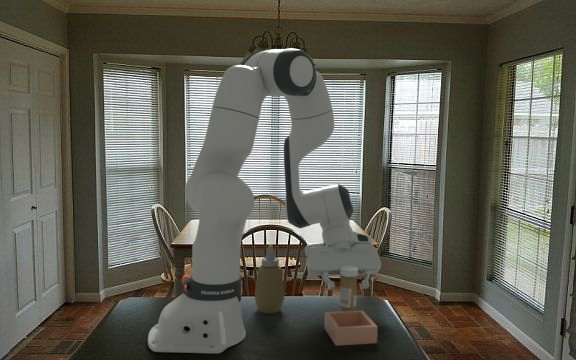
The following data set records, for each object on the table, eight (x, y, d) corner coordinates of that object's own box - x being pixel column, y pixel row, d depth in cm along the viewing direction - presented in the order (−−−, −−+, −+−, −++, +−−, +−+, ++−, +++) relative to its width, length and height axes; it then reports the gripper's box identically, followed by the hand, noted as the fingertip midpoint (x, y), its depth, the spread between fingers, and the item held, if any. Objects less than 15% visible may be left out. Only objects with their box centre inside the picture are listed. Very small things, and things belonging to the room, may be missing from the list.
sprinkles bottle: (359, 317, 124) (361, 268, 122) (346, 321, 121) (348, 271, 120) (348, 312, 127) (350, 264, 126) (335, 315, 125) (336, 266, 124)
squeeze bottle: (248, 309, 128) (249, 244, 126) (271, 302, 133) (272, 240, 131) (266, 318, 122) (268, 251, 120) (289, 311, 127) (291, 246, 125)
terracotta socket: (335, 345, 107) (336, 328, 107) (324, 327, 117) (324, 312, 116) (376, 343, 109) (377, 326, 109) (362, 325, 119) (362, 310, 118)
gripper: (305, 237, 127) (313, 284, 119) (376, 236, 131) (388, 281, 122) (301, 249, 132) (308, 295, 123) (369, 248, 136) (381, 292, 127)
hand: (349, 288), depth 123 cm, fingers open, 8 cm apart
